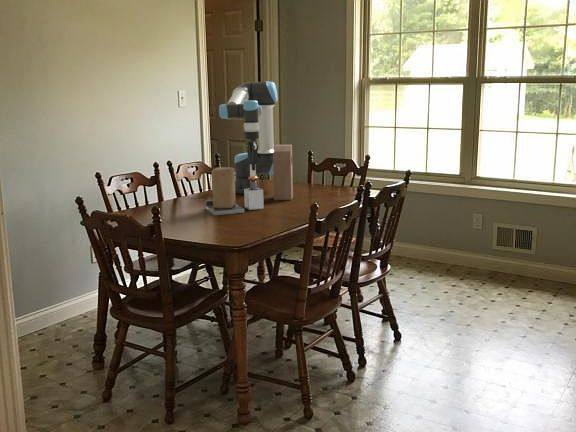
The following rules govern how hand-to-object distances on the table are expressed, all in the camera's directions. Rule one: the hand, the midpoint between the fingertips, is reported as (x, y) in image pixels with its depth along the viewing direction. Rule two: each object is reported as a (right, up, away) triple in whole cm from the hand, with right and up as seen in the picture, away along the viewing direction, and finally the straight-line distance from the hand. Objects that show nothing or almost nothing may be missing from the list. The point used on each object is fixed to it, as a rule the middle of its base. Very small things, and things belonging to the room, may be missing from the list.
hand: (253, 176), depth 332 cm
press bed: (-15, -18, -2) cm, 23 cm away
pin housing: (0, -16, +4) cm, 17 cm away
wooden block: (-15, -16, -2) cm, 22 cm away
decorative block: (+16, -11, +28) cm, 34 cm away
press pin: (0, -11, +3) cm, 11 cm away
